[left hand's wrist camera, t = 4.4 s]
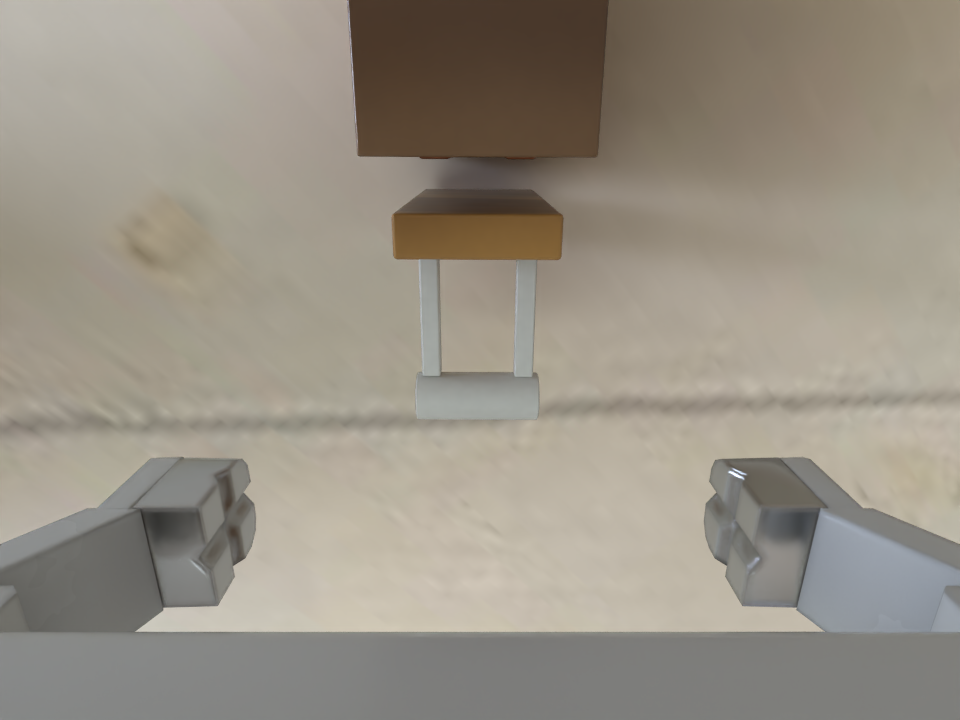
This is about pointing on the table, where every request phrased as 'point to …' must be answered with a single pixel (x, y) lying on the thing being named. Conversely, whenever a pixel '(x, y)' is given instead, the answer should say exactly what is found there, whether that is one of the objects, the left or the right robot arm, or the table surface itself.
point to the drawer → (477, 236)
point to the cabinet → (477, 77)
